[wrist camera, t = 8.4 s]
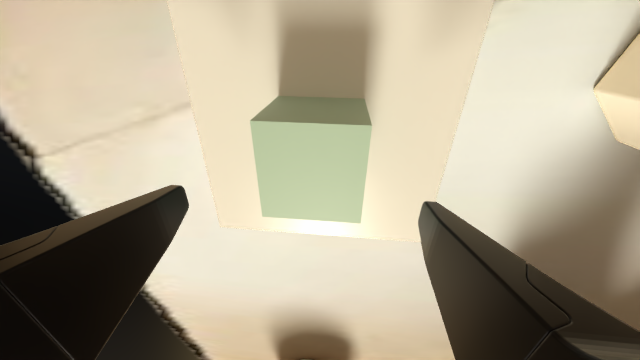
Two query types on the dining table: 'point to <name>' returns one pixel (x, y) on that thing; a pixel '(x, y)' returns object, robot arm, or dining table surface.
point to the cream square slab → (331, 93)
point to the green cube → (312, 157)
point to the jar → (623, 96)
